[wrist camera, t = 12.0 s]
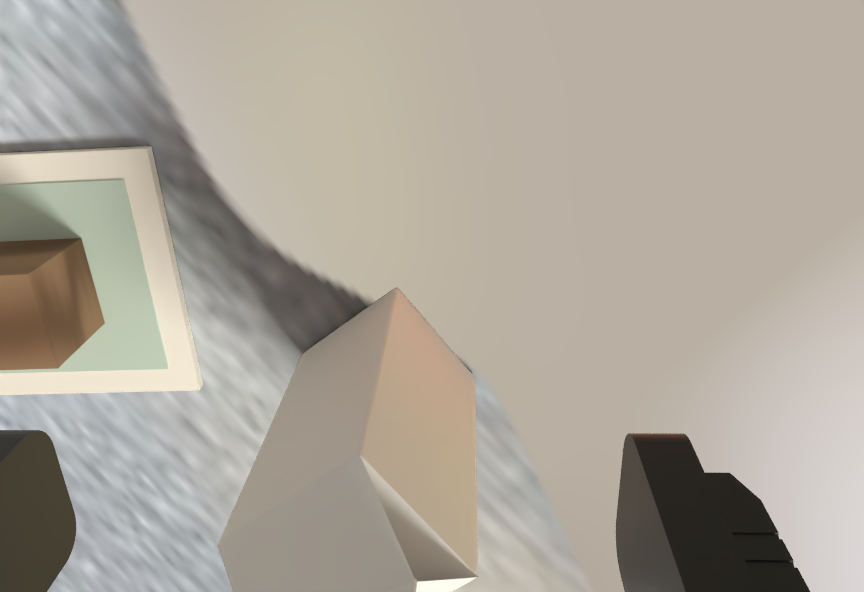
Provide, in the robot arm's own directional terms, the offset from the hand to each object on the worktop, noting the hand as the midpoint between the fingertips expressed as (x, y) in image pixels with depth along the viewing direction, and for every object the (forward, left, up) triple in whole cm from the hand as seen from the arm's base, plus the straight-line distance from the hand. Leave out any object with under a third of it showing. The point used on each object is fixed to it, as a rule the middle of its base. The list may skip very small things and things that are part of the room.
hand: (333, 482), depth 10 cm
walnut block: (+8, -21, -27) cm, 35 cm away
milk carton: (+14, -3, -28) cm, 31 cm away
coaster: (+8, -21, -28) cm, 36 cm away
